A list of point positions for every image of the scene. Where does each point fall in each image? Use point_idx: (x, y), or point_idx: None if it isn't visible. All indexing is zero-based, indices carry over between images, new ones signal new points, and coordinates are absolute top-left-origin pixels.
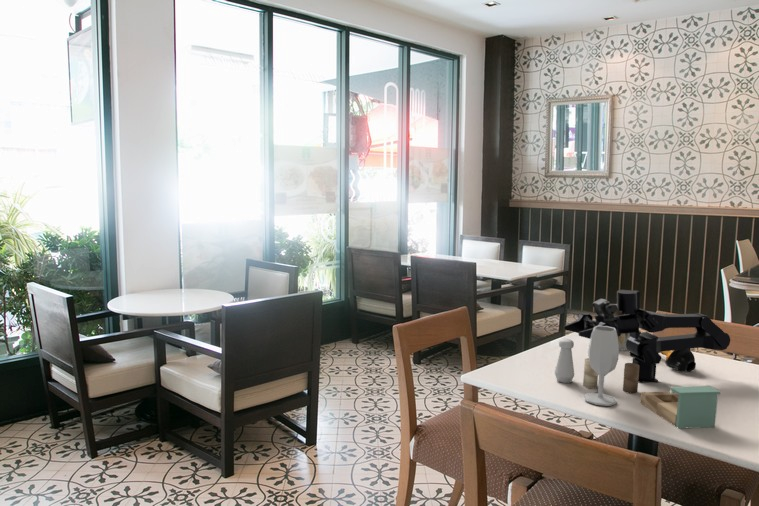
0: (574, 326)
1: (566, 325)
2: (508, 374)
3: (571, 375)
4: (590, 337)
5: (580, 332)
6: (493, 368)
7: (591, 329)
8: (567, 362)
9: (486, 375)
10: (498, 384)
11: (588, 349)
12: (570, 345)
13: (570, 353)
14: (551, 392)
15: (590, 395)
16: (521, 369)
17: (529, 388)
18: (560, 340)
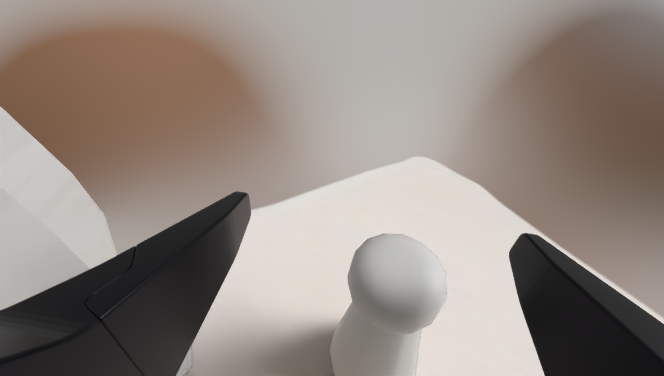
0: (592, 357)
1: (546, 247)
2: (442, 224)
3: (331, 360)
4: (22, 127)
5: (230, 197)
6: (493, 212)
7: (127, 251)
8: (345, 316)
9: (431, 182)
10: (368, 180)
11: (85, 191)
12: (348, 276)
13: (358, 317)
14: (280, 254)
15: None
16: (501, 278)
17: (327, 221)
18: (407, 236)
